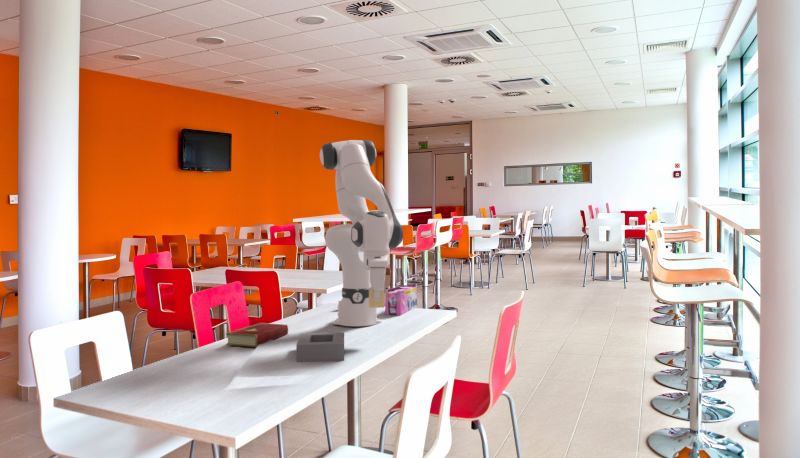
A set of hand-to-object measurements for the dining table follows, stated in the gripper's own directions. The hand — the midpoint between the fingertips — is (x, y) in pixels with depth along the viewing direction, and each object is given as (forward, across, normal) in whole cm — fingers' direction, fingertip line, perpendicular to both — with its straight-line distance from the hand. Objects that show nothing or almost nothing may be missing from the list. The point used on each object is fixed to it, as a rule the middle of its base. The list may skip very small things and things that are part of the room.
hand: (376, 300), depth 198 cm
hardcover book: (+16, -14, -41) cm, 46 cm away
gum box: (+16, -53, +14) cm, 57 cm away
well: (+15, +14, -18) cm, 27 cm away
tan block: (+2, 0, 0) cm, 2 cm away
